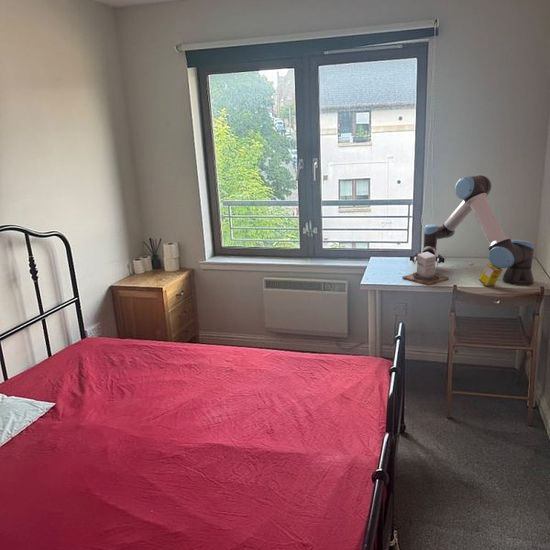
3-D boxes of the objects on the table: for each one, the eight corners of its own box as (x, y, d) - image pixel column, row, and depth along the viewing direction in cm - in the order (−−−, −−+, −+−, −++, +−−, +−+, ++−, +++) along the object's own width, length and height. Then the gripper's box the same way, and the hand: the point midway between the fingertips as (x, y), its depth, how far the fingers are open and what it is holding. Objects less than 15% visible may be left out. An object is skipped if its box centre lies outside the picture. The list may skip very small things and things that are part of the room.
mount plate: (448, 279, 278) (449, 274, 277) (428, 285, 268) (429, 280, 267) (422, 273, 292) (422, 268, 291) (402, 278, 282) (402, 274, 281)
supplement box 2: (493, 286, 265) (503, 270, 259) (485, 286, 263) (494, 270, 256) (486, 279, 269) (495, 263, 263) (478, 279, 267) (487, 263, 261)
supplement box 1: (416, 274, 282) (416, 254, 277) (427, 271, 284) (427, 251, 279) (424, 279, 276) (425, 258, 270) (435, 275, 278) (436, 255, 273)
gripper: (449, 261, 290) (448, 270, 270) (407, 258, 298) (403, 267, 279) (450, 248, 288) (449, 257, 268) (408, 246, 296) (404, 254, 277)
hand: (425, 262), depth 273 cm, fingers open, 12 cm apart
